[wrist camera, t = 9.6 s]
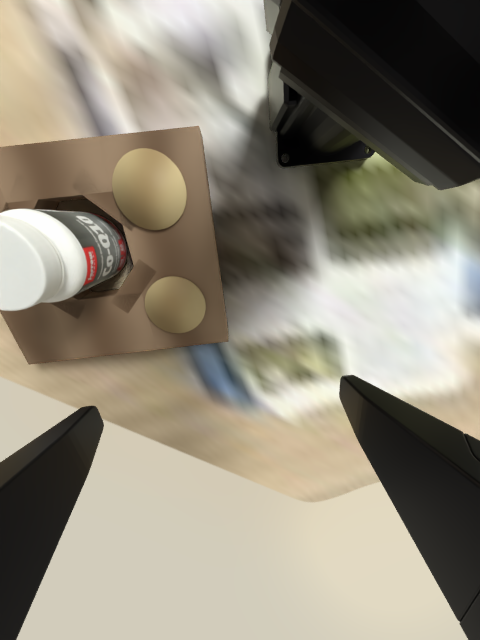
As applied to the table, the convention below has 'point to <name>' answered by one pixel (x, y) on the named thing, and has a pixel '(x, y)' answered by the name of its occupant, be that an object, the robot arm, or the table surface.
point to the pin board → (142, 237)
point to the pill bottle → (55, 255)
